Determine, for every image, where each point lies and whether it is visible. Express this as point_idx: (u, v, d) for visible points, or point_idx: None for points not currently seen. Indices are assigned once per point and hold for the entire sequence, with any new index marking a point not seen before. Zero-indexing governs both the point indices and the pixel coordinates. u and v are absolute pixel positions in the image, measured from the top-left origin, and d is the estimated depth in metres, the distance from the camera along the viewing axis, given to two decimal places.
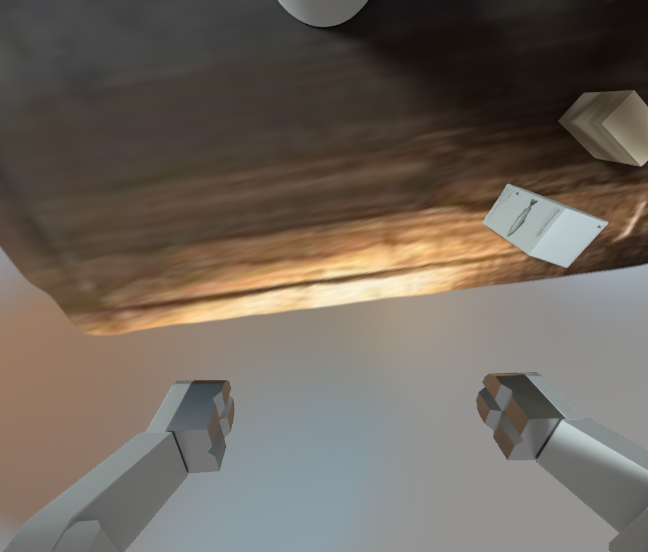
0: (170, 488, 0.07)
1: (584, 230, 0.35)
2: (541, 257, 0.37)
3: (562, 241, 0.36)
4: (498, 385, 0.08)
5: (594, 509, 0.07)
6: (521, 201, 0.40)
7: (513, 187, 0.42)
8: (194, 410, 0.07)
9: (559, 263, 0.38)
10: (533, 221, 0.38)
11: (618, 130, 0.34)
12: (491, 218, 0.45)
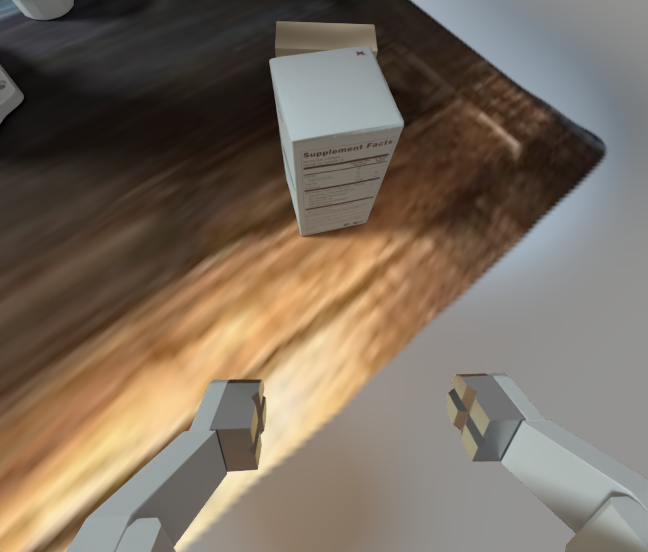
0: (212, 487, 0.07)
1: (342, 66, 0.17)
2: (323, 132, 0.16)
3: (326, 94, 0.17)
4: (464, 386, 0.08)
5: (554, 511, 0.07)
6: (283, 156, 0.24)
7: (285, 170, 0.27)
8: (234, 409, 0.07)
9: (376, 124, 0.16)
10: (281, 131, 0.19)
11: (303, 43, 0.26)
12: (296, 216, 0.26)
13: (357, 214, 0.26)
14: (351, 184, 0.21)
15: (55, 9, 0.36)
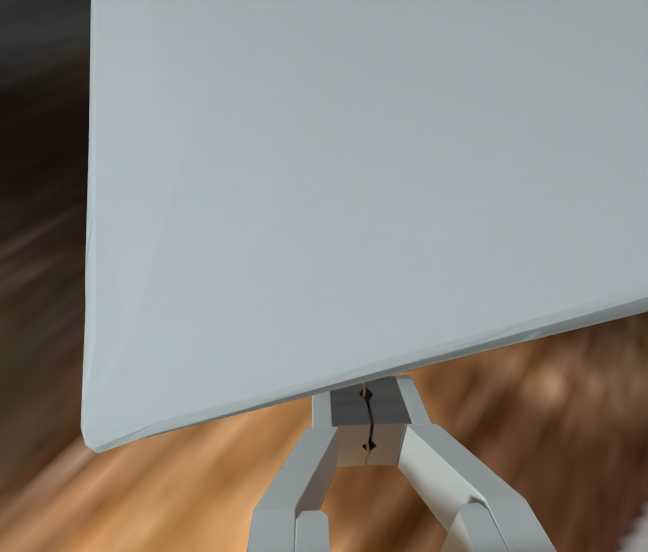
0: (329, 482, 0.07)
1: None
2: (433, 314, 0.02)
3: None
4: (366, 388, 0.08)
5: (437, 516, 0.06)
6: None
7: None
8: (347, 406, 0.07)
9: None
10: None
11: None
12: None
13: None
14: None
15: None
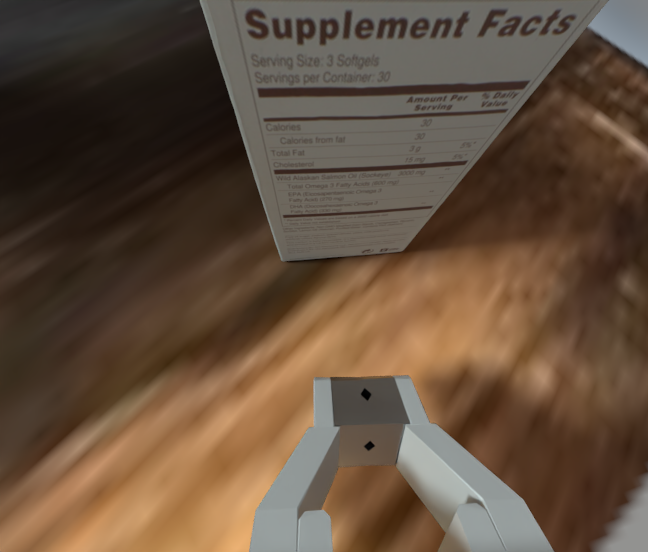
0: (331, 482, 0.07)
1: None
2: None
3: None
4: (364, 388, 0.08)
5: (435, 517, 0.06)
6: None
7: None
8: (349, 406, 0.07)
9: None
10: None
11: None
12: None
13: (390, 237, 0.13)
14: (394, 170, 0.08)
15: None
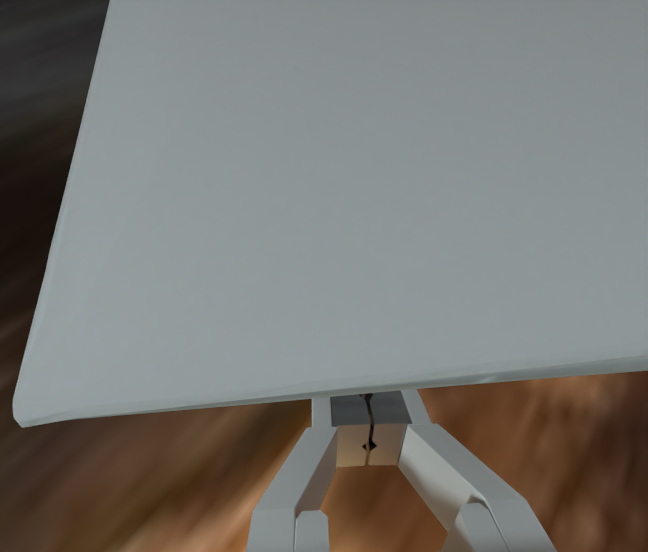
0: (328, 482, 0.07)
1: None
2: (381, 341, 0.02)
3: None
4: None
5: (437, 517, 0.06)
6: None
7: None
8: (347, 406, 0.07)
9: None
10: None
11: None
12: None
13: None
14: None
15: None
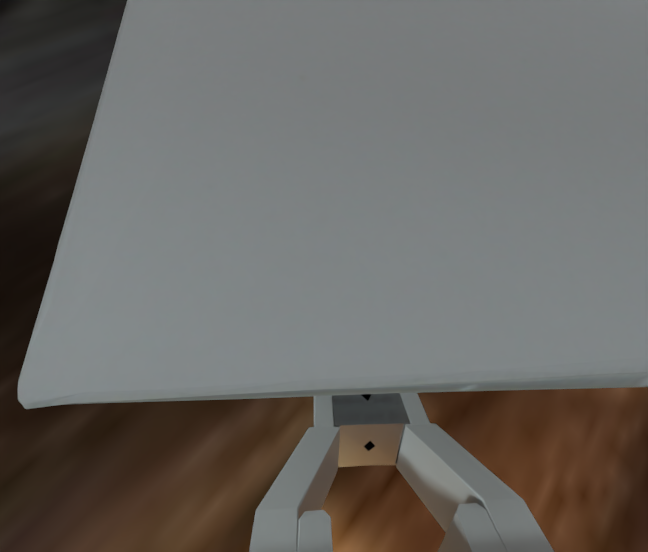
0: (330, 482, 0.07)
1: None
2: (367, 345, 0.02)
3: (441, 15, 0.02)
4: None
5: (435, 517, 0.06)
6: None
7: None
8: (349, 406, 0.07)
9: None
10: None
11: None
12: None
13: None
14: None
15: None
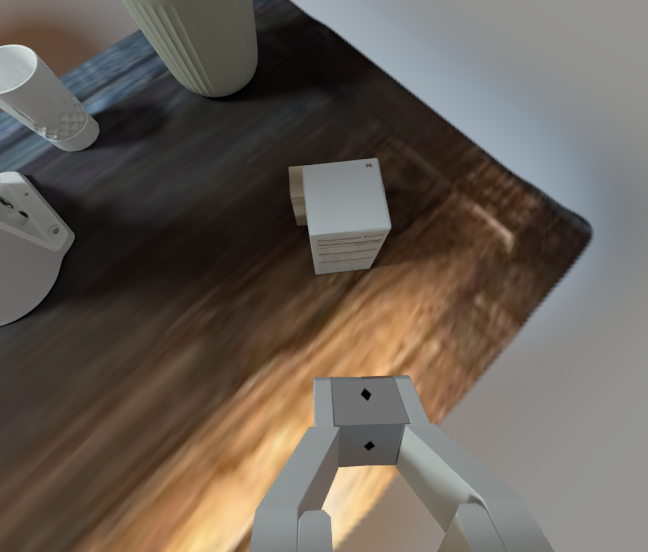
0: (330, 482, 0.07)
1: (353, 176, 0.24)
2: (332, 230, 0.23)
3: (338, 199, 0.23)
4: (364, 388, 0.08)
5: (435, 516, 0.06)
6: None
7: None
8: (349, 406, 0.07)
9: (370, 227, 0.23)
10: None
11: None
12: None
13: (361, 265, 0.33)
14: (354, 252, 0.28)
15: (86, 141, 0.40)
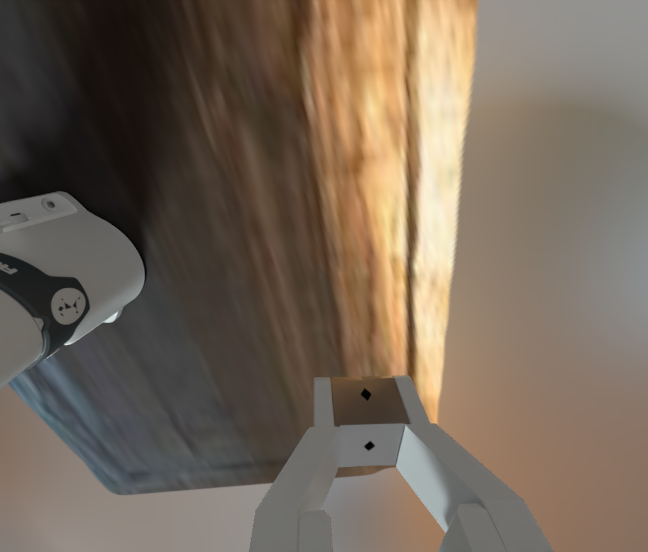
0: (330, 482, 0.07)
1: None
2: None
3: None
4: (364, 388, 0.08)
5: (435, 517, 0.06)
6: None
7: None
8: (349, 406, 0.07)
9: None
10: None
11: None
12: None
13: None
14: None
15: None
